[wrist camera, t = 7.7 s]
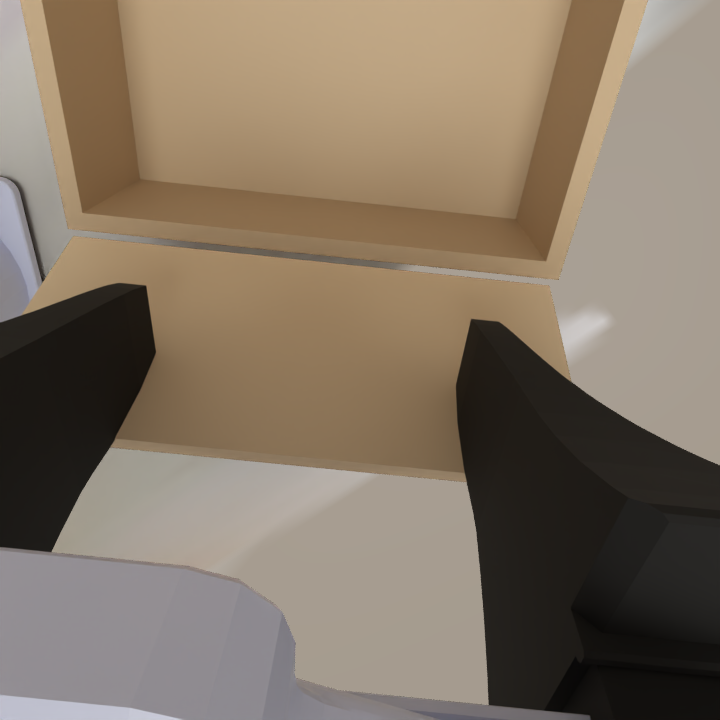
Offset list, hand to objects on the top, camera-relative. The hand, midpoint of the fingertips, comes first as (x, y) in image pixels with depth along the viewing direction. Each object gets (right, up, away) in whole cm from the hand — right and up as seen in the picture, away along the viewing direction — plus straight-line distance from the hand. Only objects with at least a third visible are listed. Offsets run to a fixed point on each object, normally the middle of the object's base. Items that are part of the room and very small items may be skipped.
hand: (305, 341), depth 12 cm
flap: (0, 0, +1) cm, 1 cm away
